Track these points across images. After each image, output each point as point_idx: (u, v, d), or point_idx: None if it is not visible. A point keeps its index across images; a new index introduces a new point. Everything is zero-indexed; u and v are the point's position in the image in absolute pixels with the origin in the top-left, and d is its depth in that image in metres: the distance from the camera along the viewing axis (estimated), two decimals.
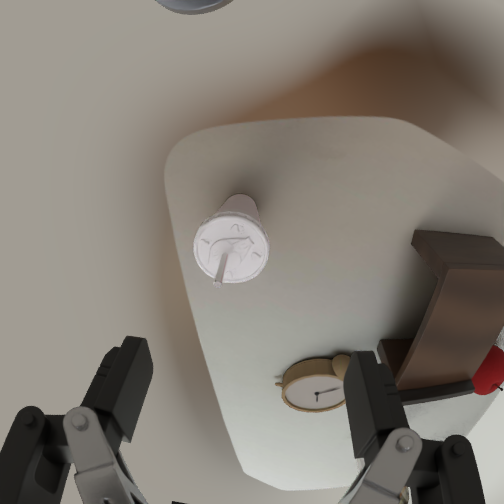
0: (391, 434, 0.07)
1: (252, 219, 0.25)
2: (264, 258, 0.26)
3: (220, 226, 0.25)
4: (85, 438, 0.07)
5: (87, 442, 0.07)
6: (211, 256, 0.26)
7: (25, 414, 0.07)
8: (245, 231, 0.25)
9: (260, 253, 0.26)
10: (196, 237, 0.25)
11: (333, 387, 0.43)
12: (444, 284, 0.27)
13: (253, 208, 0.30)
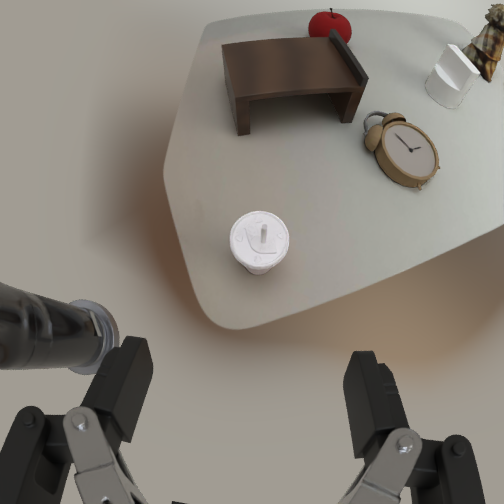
0: (391, 434, 0.07)
1: None
2: (258, 213, 0.34)
3: (240, 249, 0.33)
4: (86, 438, 0.07)
5: (87, 442, 0.07)
6: (266, 250, 0.32)
7: (25, 414, 0.07)
8: (240, 231, 0.33)
9: (255, 217, 0.34)
10: (253, 265, 0.32)
11: (397, 138, 0.44)
12: (248, 94, 0.39)
13: None
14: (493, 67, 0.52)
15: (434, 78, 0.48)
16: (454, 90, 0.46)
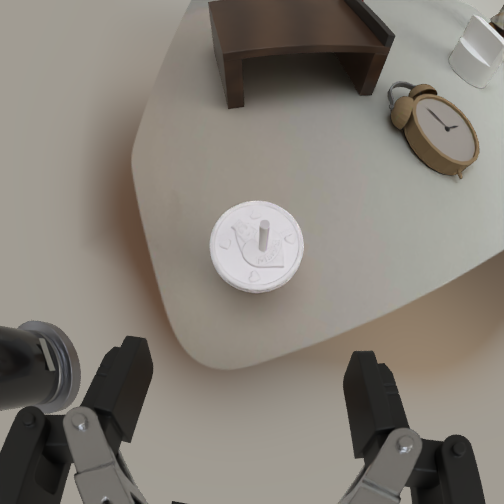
0: (391, 434, 0.07)
1: None
2: (255, 204, 0.22)
3: (226, 261, 0.20)
4: (85, 438, 0.07)
5: (87, 442, 0.07)
6: (268, 263, 0.20)
7: (24, 414, 0.07)
8: (226, 232, 0.21)
9: (250, 210, 0.22)
10: (248, 287, 0.20)
11: (430, 114, 0.32)
12: (240, 50, 0.27)
13: None
14: None
15: (460, 52, 0.36)
16: (484, 65, 0.34)
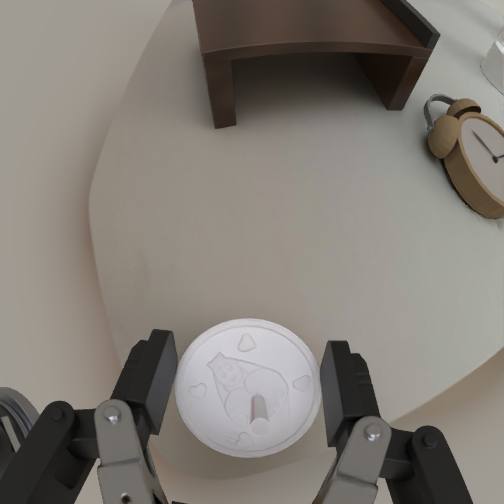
0: (359, 421, 0.08)
1: None
2: (246, 325, 0.13)
3: (201, 417, 0.12)
4: (116, 431, 0.07)
5: (121, 434, 0.07)
6: None
7: (54, 409, 0.07)
8: (199, 372, 0.12)
9: (238, 335, 0.13)
10: (234, 454, 0.11)
11: (476, 140, 0.24)
12: (228, 47, 0.19)
13: None
14: None
15: (497, 59, 0.27)
16: None
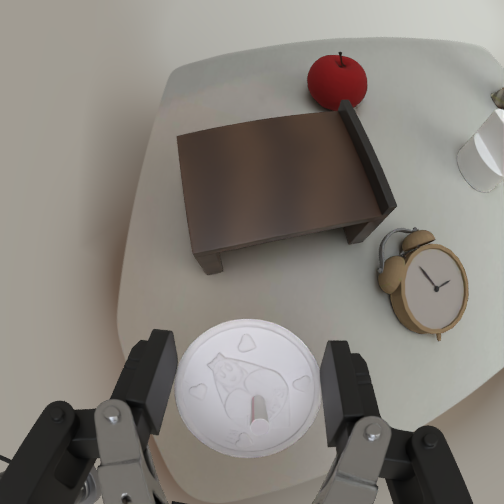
0: (359, 422, 0.08)
1: None
2: (246, 325, 0.13)
3: (201, 417, 0.12)
4: (115, 431, 0.07)
5: (122, 435, 0.07)
6: None
7: (54, 409, 0.07)
8: (199, 372, 0.12)
9: (238, 336, 0.13)
10: (234, 455, 0.11)
11: (421, 274, 0.34)
12: (212, 248, 0.29)
13: None
14: None
15: (472, 156, 0.38)
16: (496, 175, 0.35)
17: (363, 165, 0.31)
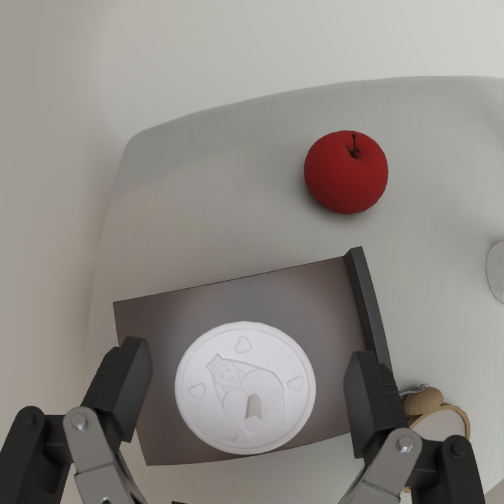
0: (391, 434, 0.07)
1: None
2: (243, 328, 0.13)
3: (200, 415, 0.12)
4: (86, 438, 0.07)
5: (87, 442, 0.07)
6: (261, 422, 0.12)
7: (24, 414, 0.07)
8: (198, 372, 0.13)
9: (235, 338, 0.13)
10: (232, 451, 0.12)
11: None
12: (167, 463, 0.20)
13: None
14: None
15: None
16: None
17: None
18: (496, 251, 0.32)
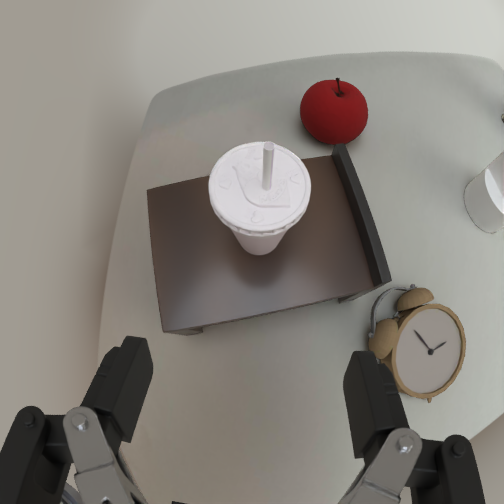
0: (391, 434, 0.07)
1: None
2: (258, 145, 0.20)
3: (226, 201, 0.18)
4: (85, 438, 0.07)
5: (87, 442, 0.07)
6: (272, 202, 0.18)
7: (24, 414, 0.07)
8: (226, 172, 0.19)
9: (253, 151, 0.19)
10: (250, 227, 0.18)
11: (415, 337, 0.31)
12: (183, 327, 0.26)
13: None
14: None
15: (481, 196, 0.34)
16: None
17: (357, 226, 0.28)
18: (471, 184, 0.37)
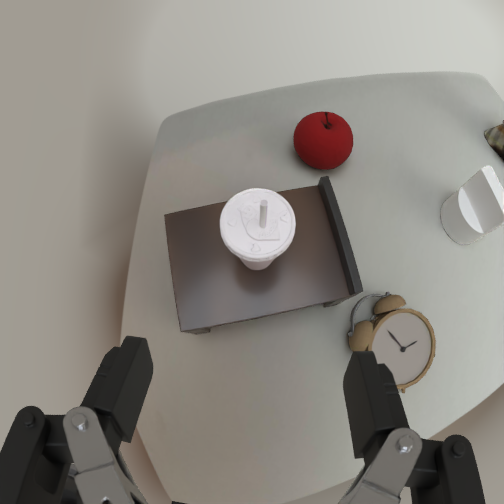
0: (391, 434, 0.07)
1: None
2: (256, 191, 0.27)
3: (233, 236, 0.25)
4: (85, 438, 0.07)
5: (87, 442, 0.07)
6: (267, 237, 0.25)
7: (25, 414, 0.07)
8: (233, 213, 0.26)
9: (252, 195, 0.26)
10: (250, 256, 0.25)
11: (389, 337, 0.38)
12: (197, 327, 0.33)
13: None
14: None
15: (454, 213, 0.42)
16: (477, 232, 0.39)
17: (337, 246, 0.35)
18: (447, 201, 0.45)
